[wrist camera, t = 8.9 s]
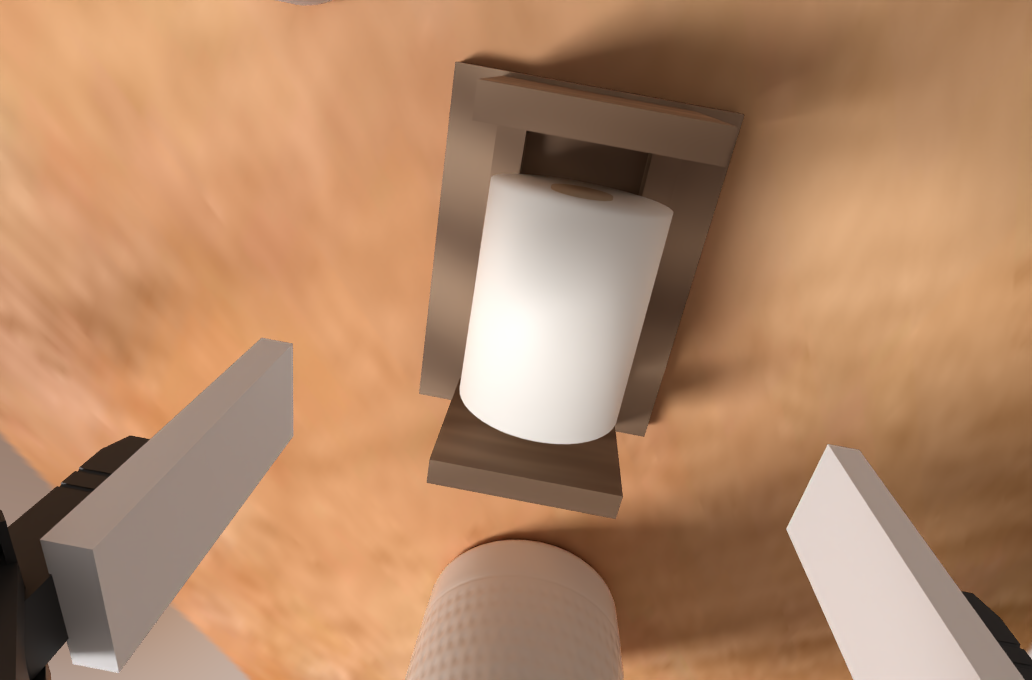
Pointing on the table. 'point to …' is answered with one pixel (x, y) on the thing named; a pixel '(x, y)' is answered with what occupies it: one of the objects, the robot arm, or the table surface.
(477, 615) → the lamp
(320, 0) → the beverage can
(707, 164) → the holder
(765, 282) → the table surface
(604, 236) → the cylinder
